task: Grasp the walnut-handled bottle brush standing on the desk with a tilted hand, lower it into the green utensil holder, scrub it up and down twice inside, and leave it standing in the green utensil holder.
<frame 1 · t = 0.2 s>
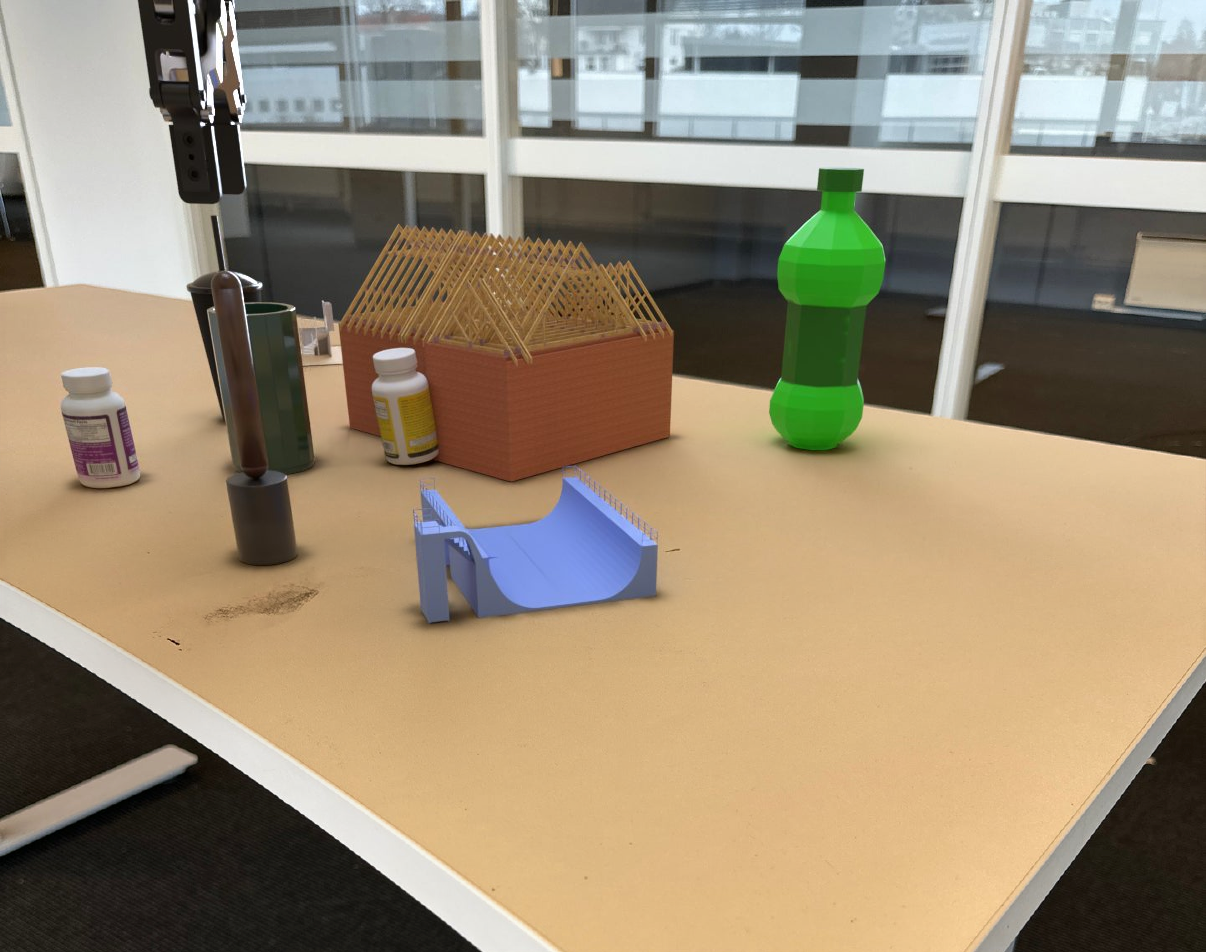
hand: (215, 198, 65), 25 cm above the table, tool pointing down, fingers open, 8 cm apart
supplement bottle: (413, 459, 110), on the table, touching house
pill bottle: (110, 483, 103), on the table
house: (502, 436, 119), on the table, touching supplement bottle
drinking cup: (245, 420, 124), on the table
architectural model: (303, 364, 151), on the table
half pipe: (511, 571, 85), on the table
plastic bottle: (812, 445, 117), on the table
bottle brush: (268, 555, 86), on the table
green utensil holder: (274, 465, 108), on the table
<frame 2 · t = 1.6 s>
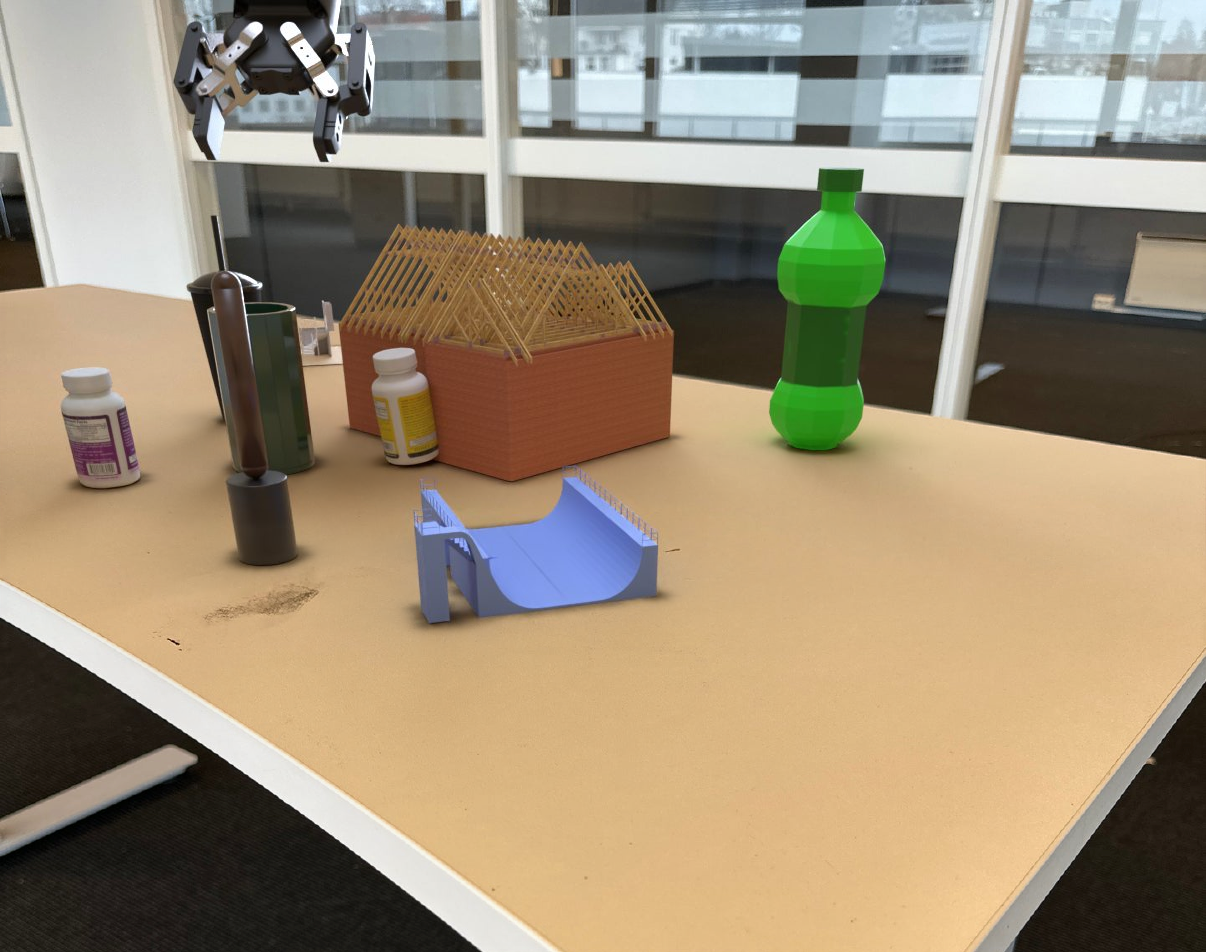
hand: (264, 153, 82), 27 cm above the table, tool tilted 45°, fingers open, 8 cm apart
nothing on the table moved.
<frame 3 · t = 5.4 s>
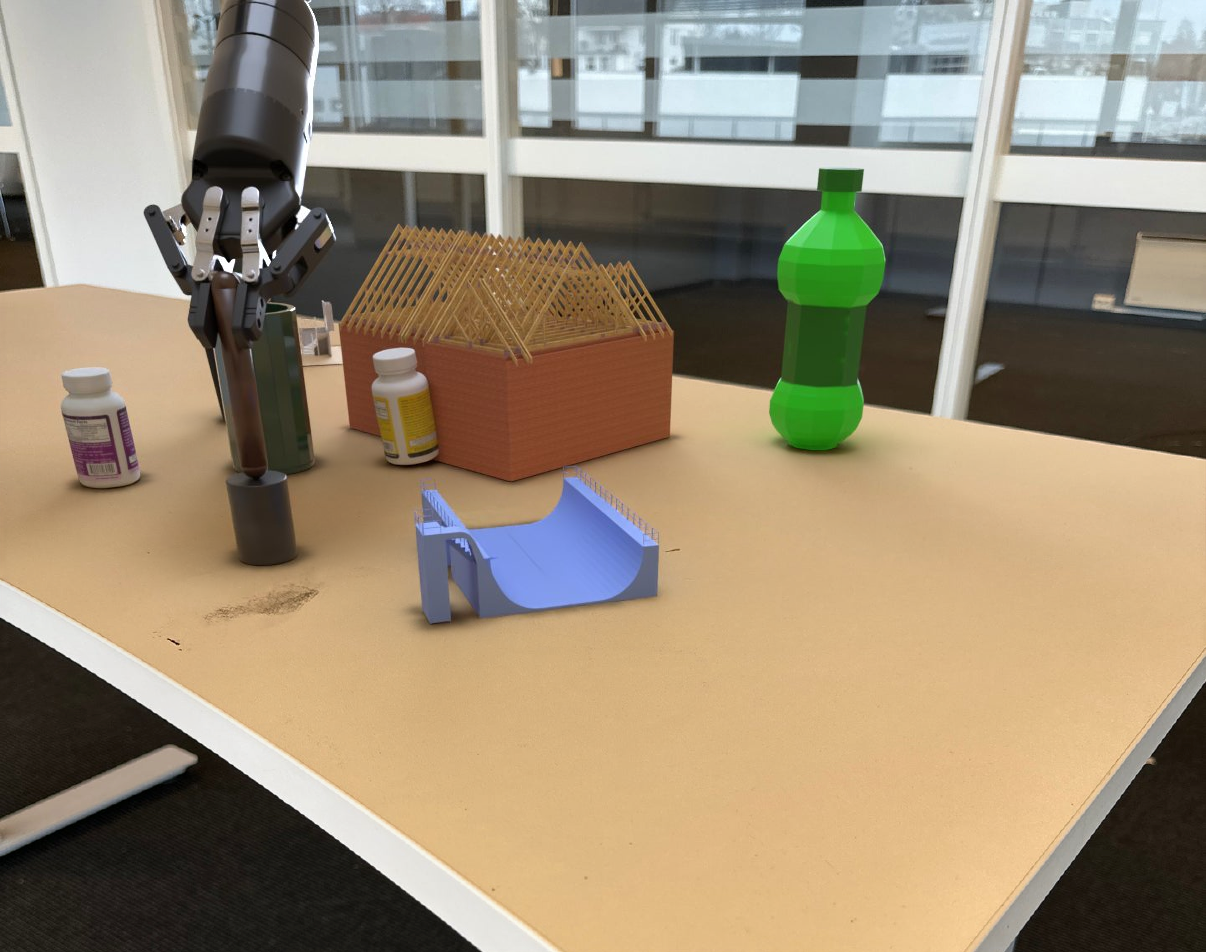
hand: (223, 340, 76), 16 cm above the table, tool tilted 45°, fingers closed on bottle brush, 2 cm apart
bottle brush: (268, 555, 86), on the table, touching gripper
everything else where it was.
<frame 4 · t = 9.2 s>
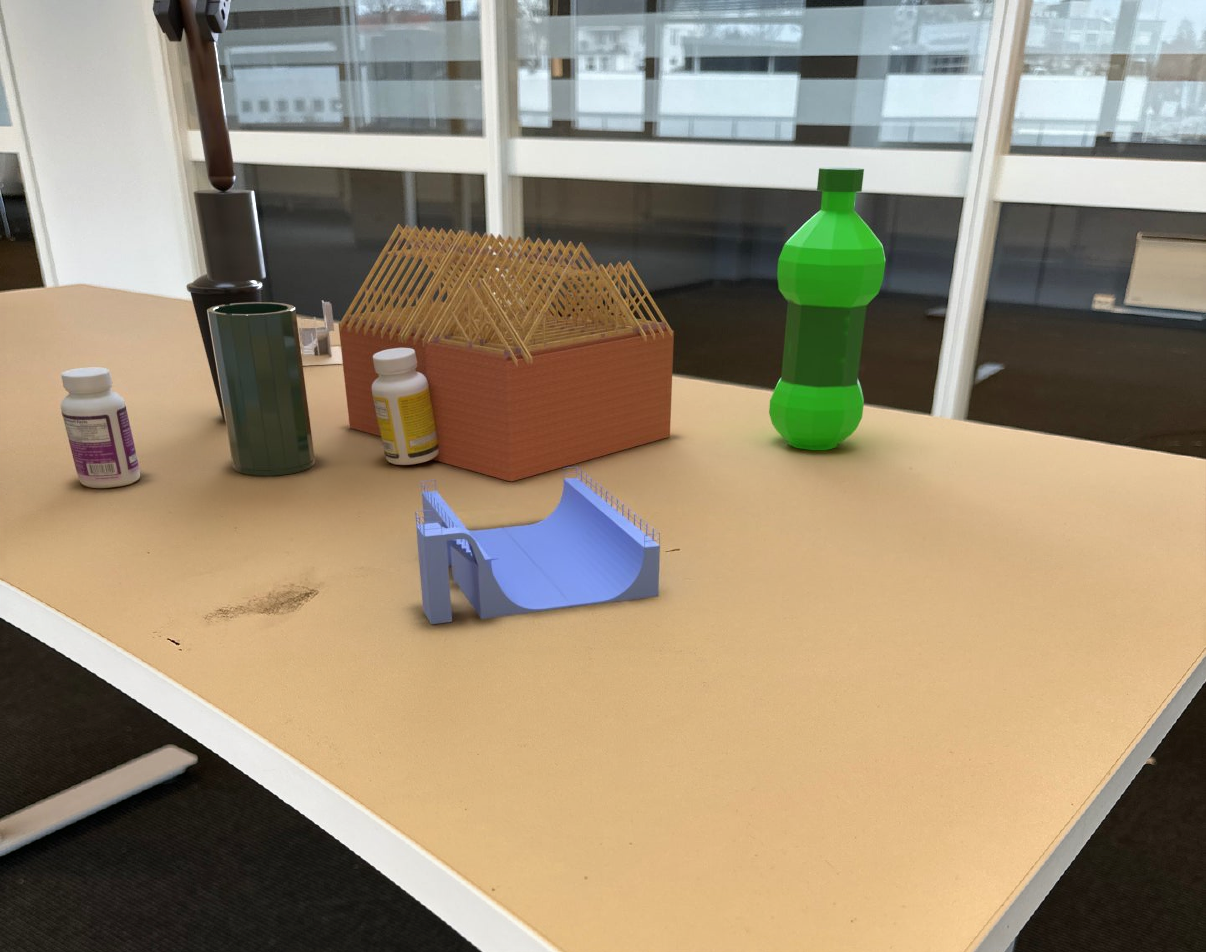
hand: (187, 30, 77), 34 cm above the table, tool tilted 45°, fingers closed on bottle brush
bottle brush: (237, 278, 88), point 18 cm above the table, touching gripper
everything else where it was.
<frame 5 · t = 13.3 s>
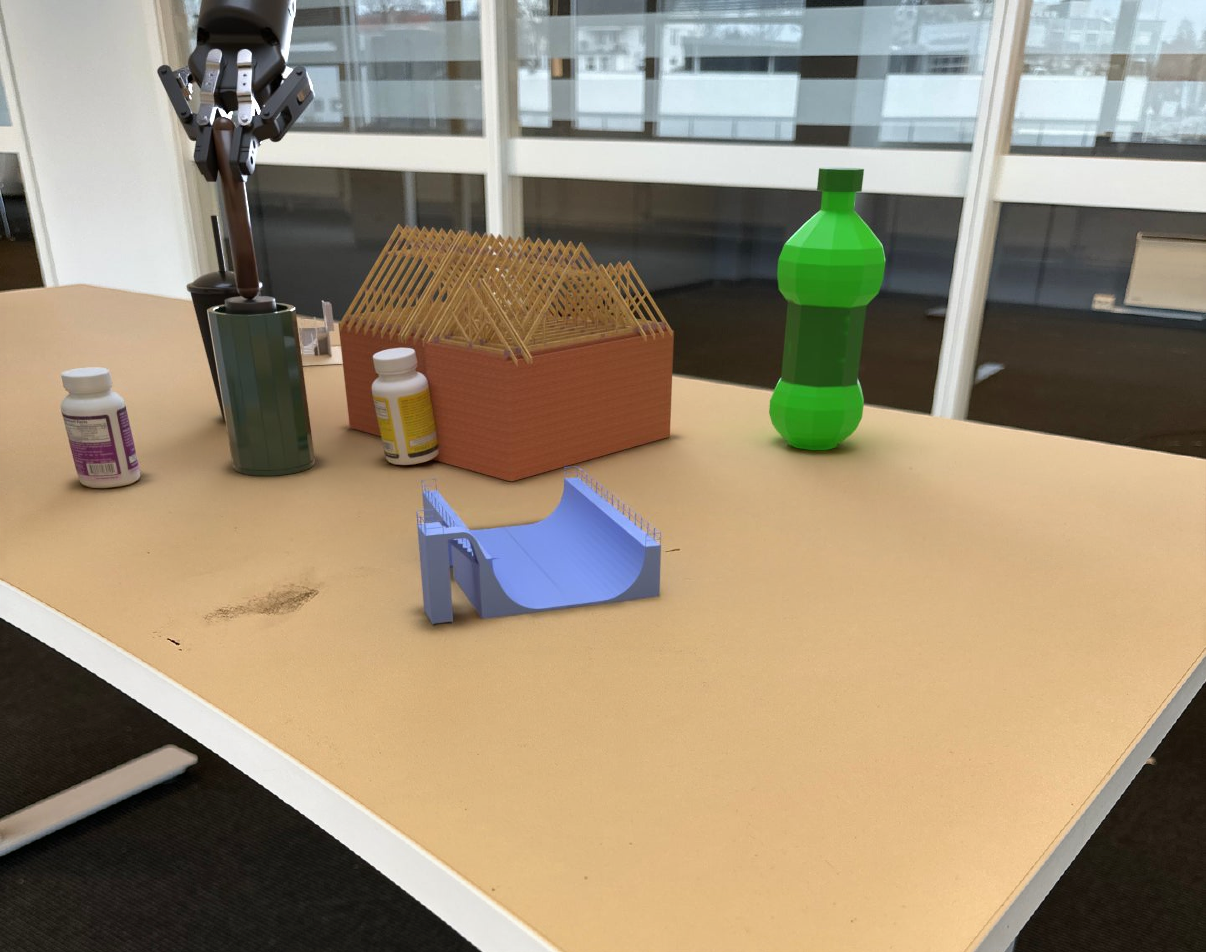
hand: (222, 174, 93), 25 cm above the table, tool tilted 45°, fingers closed on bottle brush
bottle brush: (260, 369, 103), point 9 cm above the table, touching gripper
everything else where it was.
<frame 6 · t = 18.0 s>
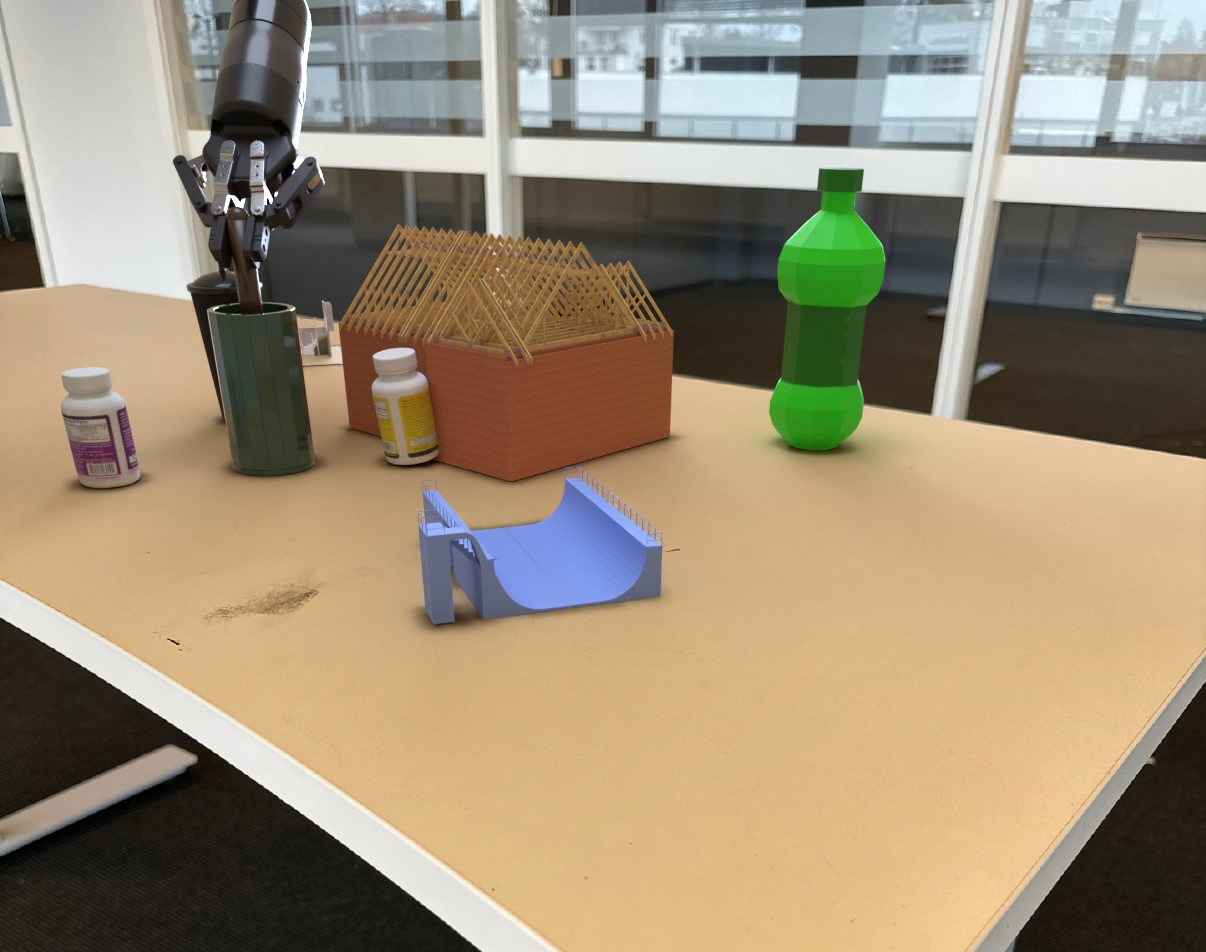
hand: (236, 261, 97), 18 cm above the table, tool tilted 45°, fingers closed on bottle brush, 2 cm apart
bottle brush: (271, 442, 107), point 2 cm above the table, touching gripper
everything else where it was.
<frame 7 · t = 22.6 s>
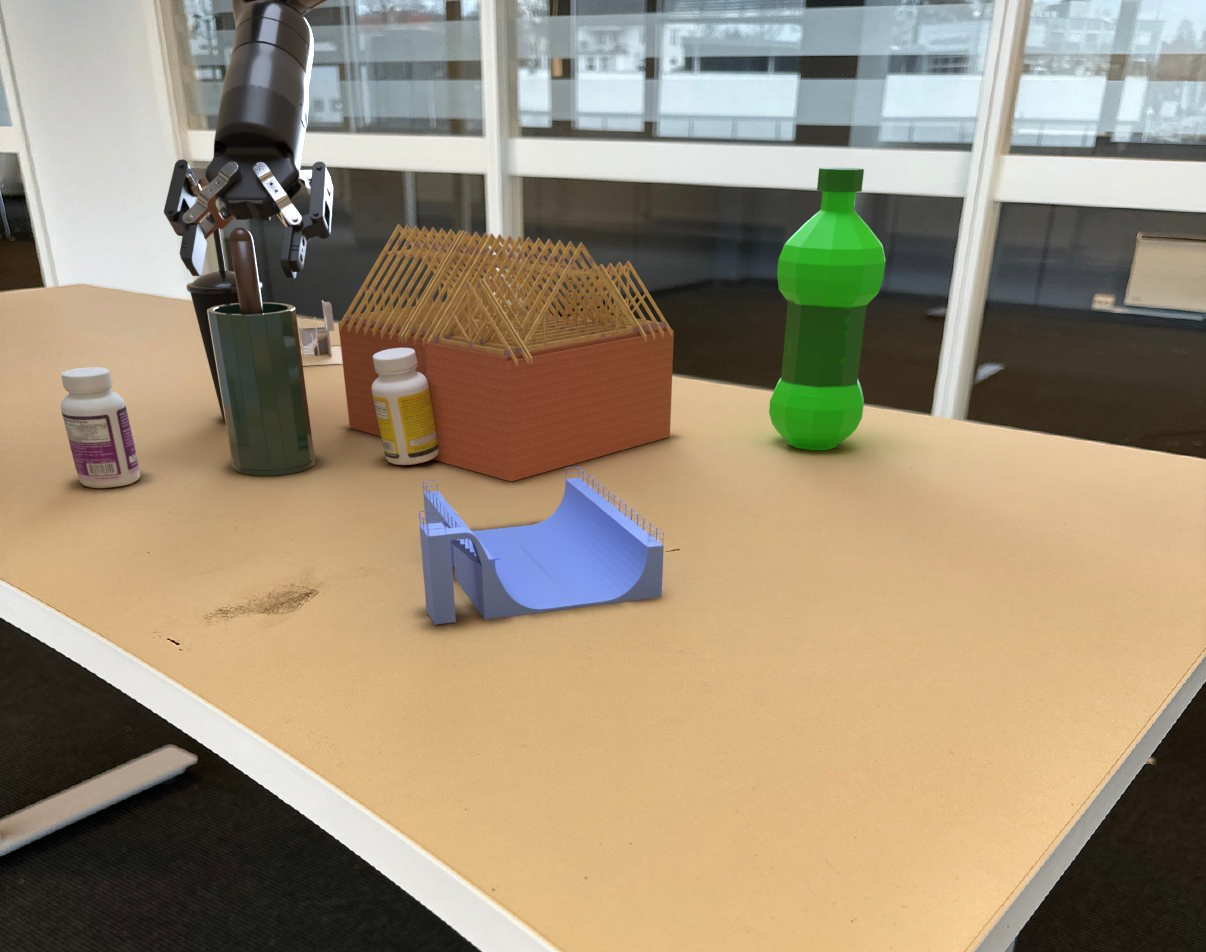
hand: (240, 271, 98), 17 cm above the table, tool tilted 45°, fingers open, 8 cm apart
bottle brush: (273, 459, 108), resting on green utensil holder
everything else where it was.
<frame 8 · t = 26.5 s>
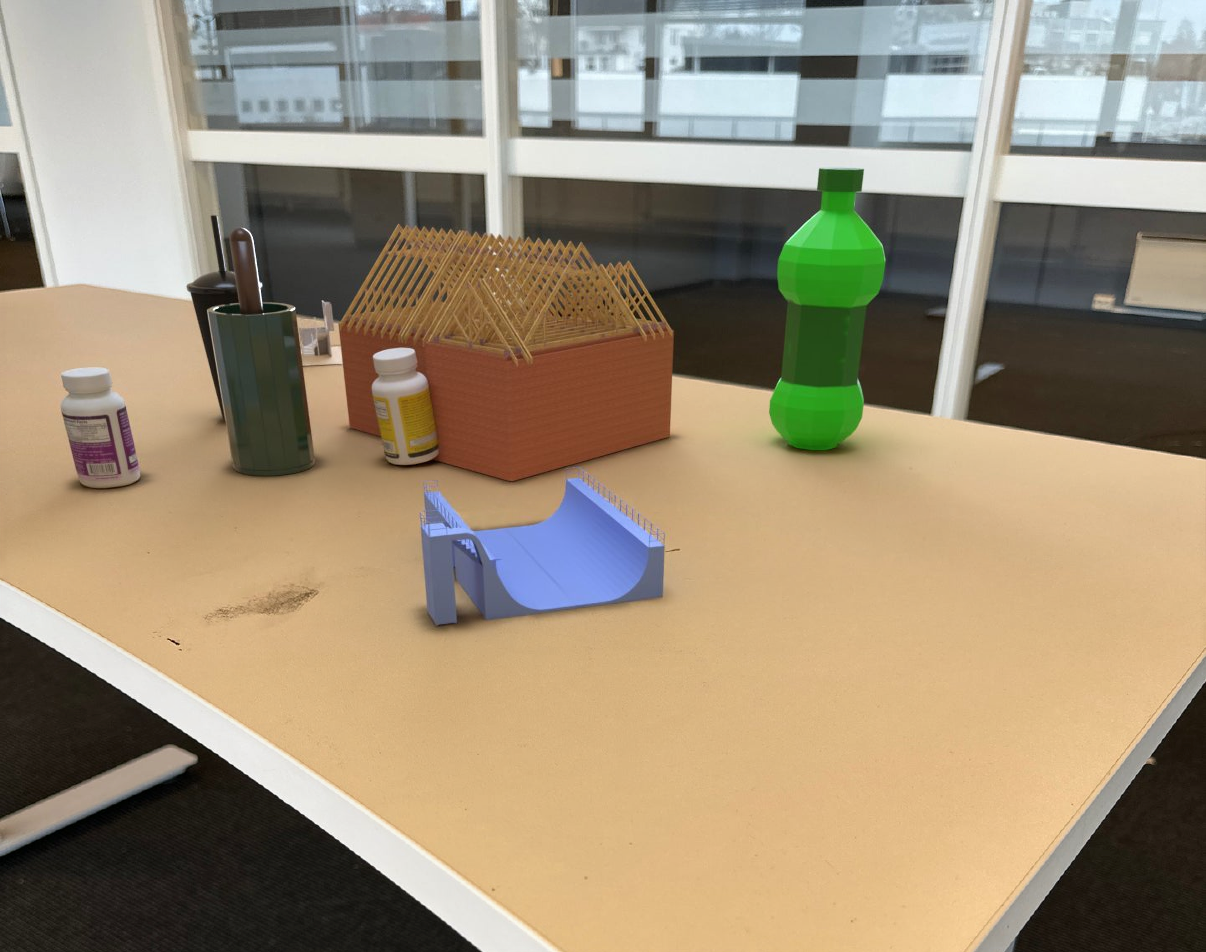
nothing on the table moved.
at the end: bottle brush 0.1 cm off-centre in the green utensil holder, point 0.5 cm above the green utensil holder's base; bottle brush tilted 0°; the gripper is holding nothing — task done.
